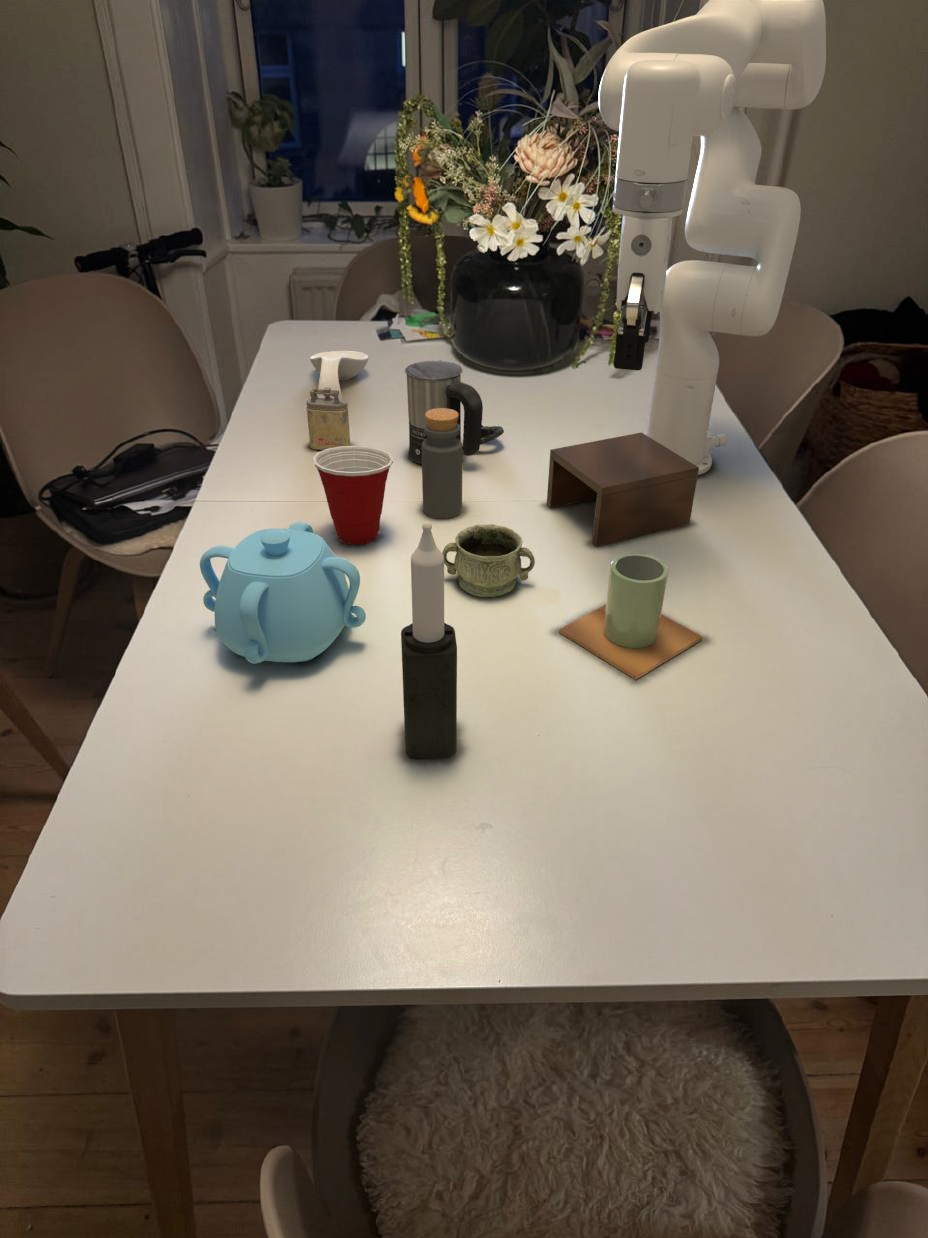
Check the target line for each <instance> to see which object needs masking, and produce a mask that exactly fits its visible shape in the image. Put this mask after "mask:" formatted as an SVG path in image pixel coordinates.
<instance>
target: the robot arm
mask: <svg viewBox="0 0 928 1238" xmlns="http://www.w3.org/2000/svg"><path fill="white" fill-rule="evenodd" d="M826 19H827V18H826V7H825V4H824V0H707V2H706V3H705V4H704V5H703V6H702V8H701V9H700V10H699V11H697V13H696V14H694V15H689V16H686V17H683V18H680V19H678V20H674V21H672V22H669V23H666V24H662V25H659V26H656V27H652V28H650V29H647V30H644V31H641V32H638V33H637V34H635V35H633V36H631V37H630V38H628V39H627V40H626V41H625V42H624V43H623V44H622V45H621V46H620V47H619V48H618V49H617V50H616V51H615V52H614V53H613V55H612V56H611V58H610V60H609V61H608V63H607V65H606V66H605V69H604V71H603V73H602V76H601V80H600V84H599V88H598V109H599V113H600V116H601V119H602V121H603V122H604V125H606V126H607V127H608V128H609V129H611V130H614V131H615V132H619V133H618V144H617V154H616V155H617V157H616V166H615V177H614V188H613V189H614V190H613V199H612V213H613V212H614V213H615V214H617V215H620V216H622V221H621V231H620V241H619V253H618V264H617V265H618V266H617V281H616V285H617V286H616V309H617V310H618V311H619V312H620V318H619V326H618V331H616V339H615V348H614V356H613V357H614V358H613V368H614V369H616V370H625V371H626V370H627V371H641V370H642V369H643V364H644V355H645V349H646V348H645V346H646V344H647V343H649V339H650V333H651V332H650V331H651V323H652V316H653V315H652V314H654V315H657V314H659V338H658V348H657V356H656V358H657V359H656V364H655V371H654V372H655V373H654V377H653V379H654V380H653V385H652V394H651V399H650V400H651V401H650V409H649V417H648V424H647V431H646V435H647V436H648V437H650V438H651V439H653V440H655V441H656V442H658V443H660V444H661V445H663V446H665V447H666V448H668V449H669V450H671V451H673V452H674V453H676V454H678V455H679V456H681V457H683V458H684V459H686V460H687V461H689V462H691V463H692V464H694V465H696V466H697V467H699V471H698V476H700V475H702V474H705V473H707V472H708V471H710V469H711V468H712V464H713V458H712V457H713V456H712V455H711V454H710V451H712V450H713V449H714V448H719V447H724V446H727V445H728V444H729V437H728V435H727V434H726V433H723V434H717V435H714V436H713V434H712V432H711V431H708V430H709V425H710V419H711V415H712V414H711V413H712V408H713V402H714V396H715V390H716V385H717V379H718V374H719V369H720V354H719V351H718V347H717V345H716V343H715V341H714V338H713V337H712V335H711V333H719V334H727V335H728V334H729V335H735V336H736V335H737V336H744V337H761V336H765V335H767V334H768V333H769V332H770V331H771V330H772V329H773V327H774V325H775V323H776V321H777V319H778V316H779V313H780V310H781V304H782V301H783V297H784V292H785V288H786V284H787V280H788V276H789V272H790V268H791V263H792V259H793V256H794V251H795V247H796V243H797V238H798V234H799V228H800V224H801V223H800V222H801V215H802V209H801V208H802V207H801V201H800V198H799V196H798V194H797V193H796V192H795V190H792V189H790V188H787V187H784V186H776V185H764V184H756V179H757V174H758V169H759V166H760V161H761V158H762V144H761V140H760V138H759V136H758V133H757V132H756V129H755V127H754V126H753V124H752V122H751V121H750V118H748V116H747V114H746V113H745V112H744V110H743V108H748V109H749V108H751V109H765V110H766V109H768V110H769V109H771V110H785V111H786V110H787V111H788V110H789V111H790V110H800V109H804V108H806V107H807V106H809V105H811V104H812V102H813V101H814V100H815V99H816V98H817V96H818V94H819V93H820V90H821V88H822V84H823V81H824V77H825V72H826V66H827V65H826V64H827V20H826ZM694 137H700V154H699V157H698V164H697V167H696V172H695V175H694V176H695V177H694V180H693V181H694V182H693V186H692V190H691V194H690V200H689V204H688V208H687V213H686V219H685V226H684V238H685V241H686V243H687V245H688V246H689V248H692V250H695V251H698V252H702V253H707V254H714V255H715V254H717V255H722V256H723V255H726V256H732V257H733V256H734V257H744V258H752V259H754V260H755V261H756V263H757V266H752V265H744V264H733V263H729V262H720V261H719V262H718V261H712V260H711V261H709V260H695V259H694V260H693V259H692V260H691V259H689V260H682V261H679V262H677V263H675V264H672V265H671V266H670V267H669V268H668V266H669V265H668V264H669V258H670V251H671V240H672V229H673V218H674V217H679V216H681V215H682V214H684V209H685V200H686V191H687V184H688V177H689V170H690V162H691V155H692V147H693V138H694Z"/></svg>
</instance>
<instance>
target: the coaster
mask: <svg viewBox="0 0 928 1238" xmlns="http://www.w3.org/2000/svg"><path fill="white" fill-rule="evenodd" d="M605 610H606V604H605V605H602V606H600V607H599V608H597V609H595V610H593V611H590V612H589V613H587V614H585V615H584V616H582V617H579V618H578V619H576V620H574V621H572V622H570V623H567V624H566V625H564V626H562V627H560V628H558V633H559V634H561V635H563V636H564V637H566V638H567V639H569V640H570V641H571V642H574V643H575V644H577V645H579V646H580V647H582V648H583V649H585V650H587V651H588V652H590V653H592V654H593V655H594V656H597V657H598V658H600V659H601V660H603V661H605V662H606V663H608V664H609V665H611V666H612V667H613V668H616V669H618V671H621V672H622V673H624V674H625V675H627V676H629V677H630V678H631V679H633V680H635V681H636V680H638V679H640V678H642V677H644V675H646V674H648V673H650V672H651V671H653V670H655V669H656V668H658V667H660V666H661V665H663V664H664V663H666V662H668V661H669V660H671V659H672V658H675V657H676V656H678V655H679V654H681V653H683V652H685V651H686V650H688V649H689V648H691V647H693V646H695V645H696V644H698V643H700V642H701V641H702V640H703V636H702V635H700V634H698V633H697V632H695V631H693V630H691V629H689V628H688V627H685V625H682V624H680V623H678V622H677V621H675V620H673V619H671V618H670V617H667V616H665V615H663V614H662V613H661V618H660V624H659V630H658V636H657V639H656V641H655V642H654V643H653V644H651V645H649V646H647V647H643V648H626V647H622V646H618V645H616V644H614V643H612V642H611V641H609V640H608V639H607V638H606V637H605V635H604V632H603V627H604V618H605Z"/></svg>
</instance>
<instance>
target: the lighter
mask: <svg viewBox="0 0 928 1238" xmlns="http://www.w3.org/2000/svg"><path fill="white" fill-rule="evenodd" d="M318 394H324V396H325V397H326V398H318ZM338 395H339V391H337V390H331V388H324V389H320V390H319V389H318V388H316V387H315V388H312V389H311V390H310V391H309V396H310V398H309V399H307V400H306V415H307V427H308V437H309V448H311V449H312V450H317V451H318V450H320V451H323V450H326V449H329V448H334V447H340V446H352V445H351V433H350V420H349V407H348V401H347V400H345V399H343V398H342V399H338ZM330 396H333V397H334V399H332V398H330Z"/></svg>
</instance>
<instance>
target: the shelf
mask: <svg viewBox="0 0 928 1238" xmlns="http://www.w3.org/2000/svg"><path fill="white" fill-rule="evenodd" d="M548 463H549V465H548V478H547V479H548V480H547V491H546V492H547V493H546V494H547V495H546V507H548V508H549V509H554V508H559V507H562V506H567V505H572V504H577V503H582V502H586V501H590V500H591V501H592V500H595V499H596V501H595V510H594V519H593V528H592V529H593V530H592V538H591V544H593V546H594V547H601V546H605V545H609V544H613V543H618V542H622V541H625V540H630V539H634V538H638V537H642V536H647V535H650V534H654V533H659V532H663V531H666V530H672V529H677V528H680V527H685V526H688V525H690V523H691V518H692V516H691V515H692V511H693V505H694V499H695V494H696V489H697V484H698V477H699V475H698V471H699V467H697V466H696V465H694V464H692V463H691V462H689V461H687V460H686V459H684V458H683V457H681V456H679V455H678V454H676V453H674V452H673V451H671V450H669V449H668V448H666V447H665V446H663V445H661V444H660V443H658V442H656V441H655V440H653V439H651V438H650V437H648V436H647V434H645V433H643V432H637V433H631V434H625V435H621V436H615V437H609V438H605V439H600V440H599V439H598V440H594V441H589V442H584V443H583V442H582V443H578V444H573V445H568V446H563V447H558V448H557V447H556V448H552V449H550V452H549V462H548Z"/></svg>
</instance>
